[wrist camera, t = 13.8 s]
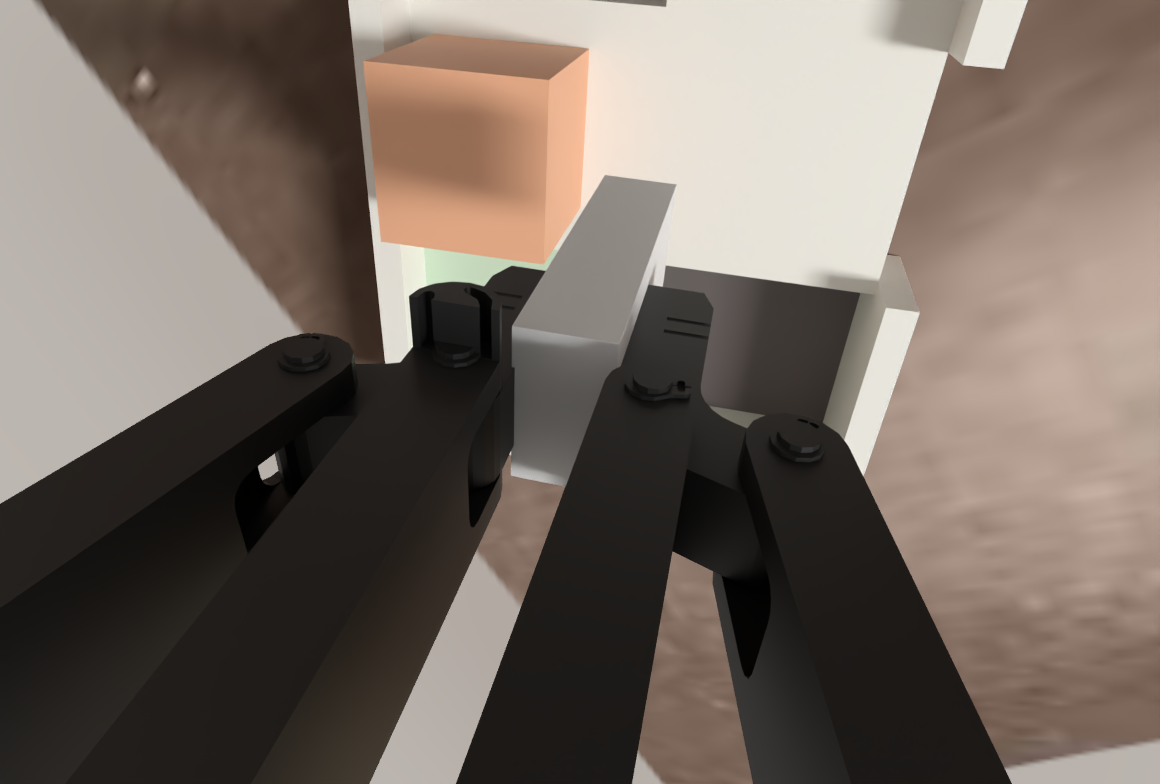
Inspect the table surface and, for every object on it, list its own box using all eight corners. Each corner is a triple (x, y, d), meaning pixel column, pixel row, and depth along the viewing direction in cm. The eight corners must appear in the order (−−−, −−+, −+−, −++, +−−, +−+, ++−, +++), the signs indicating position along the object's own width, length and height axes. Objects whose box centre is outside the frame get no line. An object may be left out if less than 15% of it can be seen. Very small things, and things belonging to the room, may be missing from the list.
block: (434, 33, 24) (363, 60, 20) (589, 48, 23) (548, 80, 19) (442, 189, 26) (381, 241, 22) (580, 207, 26) (543, 264, 22)
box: (379, -516, 19) (285, -617, 15) (1146, -527, 17) (1252, -651, 13) (433, 376, 34) (392, 433, 30) (840, 445, 31) (849, 517, 28)
